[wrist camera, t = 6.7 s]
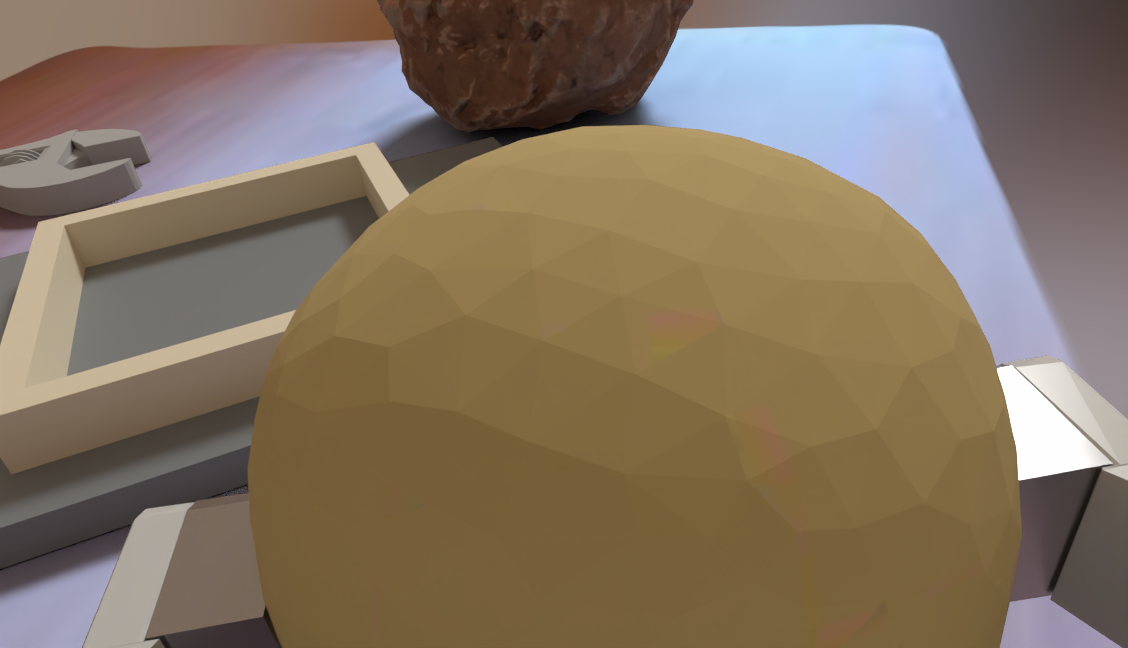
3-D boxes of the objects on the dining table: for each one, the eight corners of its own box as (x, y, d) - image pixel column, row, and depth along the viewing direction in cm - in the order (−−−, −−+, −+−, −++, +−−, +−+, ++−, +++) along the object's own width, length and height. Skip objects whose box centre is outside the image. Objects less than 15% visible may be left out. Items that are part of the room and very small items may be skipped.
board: (-249, 654, 15) (-346, 569, 14) (-77, 307, 26) (-122, 240, 25) (672, 338, 21) (669, 254, 19) (496, 160, 32) (486, 98, 30)
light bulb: (816, 1311, 8) (1133, 809, 2) (329, 933, 11) (-99, 299, 5) (935, 724, 12) (1139, 50, 6) (568, 573, 15) (486, 20, 9)
